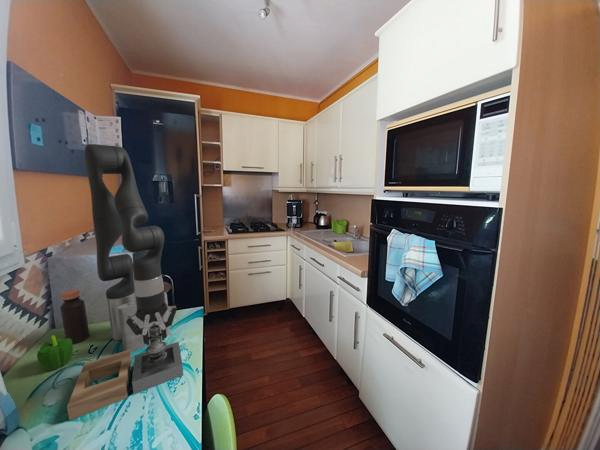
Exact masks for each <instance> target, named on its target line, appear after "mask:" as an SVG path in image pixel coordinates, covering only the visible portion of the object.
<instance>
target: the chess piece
mask: <svg viewBox="0 0 600 450" xmlns="http://www.w3.org/2000/svg"><path fill="white" fill-rule="evenodd" d="M149 333H150V337H149V340H150V345H148V346H146V348H145V352H146V353H147V354H148V356H149V358H148V362H149V363H157V362H160V361H162V360H163V359H165V357H166V356H167V353H166V352H165V349H166V346H167V345H168V344H167V342H166V341H162V339H161V336H162V335H161V333H160V327H159V325H155V323H153V326H151V327H150V328H149Z"/></svg>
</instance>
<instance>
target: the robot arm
mask: <svg viewBox="0 0 600 450" xmlns="http://www.w3.org/2000/svg"><path fill="white" fill-rule="evenodd" d="M83 153H84V161H85V166H86V167H85V168H86V173H87V177H88V182H89V183H88V185H89V190H90V195H91V197H90V198H91V211H92V212H91V213H92V223H93V228H94V229H93V230H94V235H95V244H96V269H97V270H96V271H97V275H98V278H99V280H101V281H102V282H110V281H113V280H119V279H121V280H119V282H117V283H116V284H114V285H112V286H110V287H109V288H108V289H106V291H105V296H106V303H107V310H108V317H109V324H110V331H111V337H112V339H113V340H114V341H122V335H121V328H120V320H119V313H118V307H119V306H121V305H124V304H128V303H130V302H133V301H136V304H137V311H136V314H134V315H132V316H128V317H127V320H126V323H127V324H128V326H129V327H130V328H131V330H132V331H133V332H134V334H135V335H139V334H141V335H143V341H144V344H147V345H148V346H150V345H149V333H148V331H147V329H148V324H149V323H152V322H156V321H158V323H159V325H160V327H161V335H162V339H161V341H162V342H164V341H165V339H166V338H167V337H168V336H167V334H166V328H167V327H168V326H170V327H171V326H172V325H173V323H174V319H175V317H176V312H177V305H175V304H174V305H171V306H170V305H168V306H167V304H166V303H165V294H164V292H165V285H164V279H163V276H162V268H161V261H162V253H163V250H164V249H163V248H164V243H165V233H164V232H163V229H162V228H161V227H159V226H158V225H148V226H140V225H144V224H145V223H146V222H148V220H149V215H148V211H147V210H146V208H145V205H144V203H143V200H142V199H141V196H140V193H139V190H138V186H137V185H138V184H137V181H136V177H135V174H134V169H133V166H132V162H131V159H130V156H129V153H128V152H127V151H126V149H125V148H124V147H122V146H117V145H109V144H108V145H107V144H96V143H94V144H93V143H89V144H86V145H85V147H84V152H83ZM103 175H120V176H121V178H122V179H121V183H120V185H119V186H118V189H117V191H116V193H115V195H113V193H112V192H111V191H110V189H108V187H107V185H106V184H105V182H104V180H103ZM138 226H139V227H138ZM120 237H121V244H122V246H123V248H124V249H125V250H126V251H127V252H130V253H137V252H143V251H147V253H146V254H145V255H143V256H141V257H139V258H137V259H135V260H134V261H133V258H132V256H131V255H130V254H128V253H124V254H123V253H122V254H118V255H117V254H116V255H111V256H110V253H111V252H112V251H111V250H112V248H113V247H114V245H115V243H116V242H117V241H118V240H119V239H120ZM167 310H168V312H169V317H168V321H166V322H165V321H164V319H163V315H164V314H165V312H166V311H167ZM136 318H139V319H140V320H141V321H143V322H144V324H143V328H139V326H138V325H137V324H136Z"/></svg>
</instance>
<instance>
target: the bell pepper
mask: <svg viewBox="0 0 600 450" xmlns="http://www.w3.org/2000/svg"><path fill="white" fill-rule="evenodd" d="M50 339H51V341H49V342H45V343H43V344H42V345H41V346H40V348H39V350H38V351H37V354H36V359H37V361H38V363H39V364H40V366H41V367H42V368H43V369H44V370H46V371H54V370H57V369H59V368H60V367H62V366H65V365H67V364H69V362H71V360H72V358H73V357H72V356H73V352H74V344H72V340H71V339H70V338H67V339H66V338H64V339H63V338H59V337H58V338H56V336H55V335H54V334H53V335H50Z"/></svg>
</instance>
